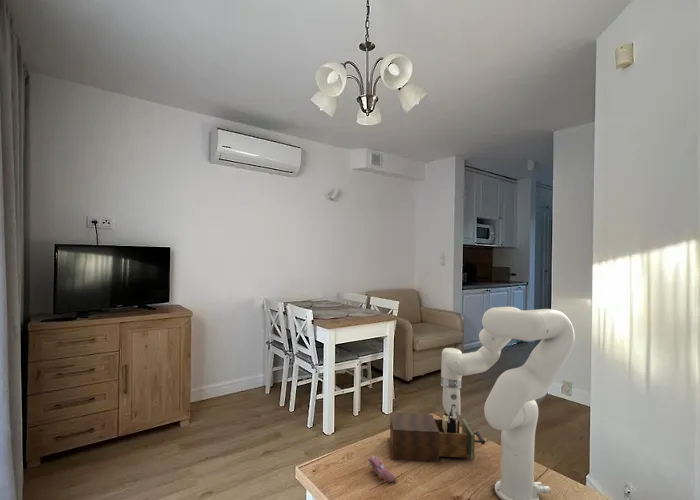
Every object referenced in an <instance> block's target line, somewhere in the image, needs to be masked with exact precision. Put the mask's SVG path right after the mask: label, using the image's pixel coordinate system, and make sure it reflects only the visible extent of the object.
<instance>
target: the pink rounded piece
mask: <svg viewBox="0 0 700 500" xmlns="http://www.w3.org/2000/svg"><path fill="white" fill-rule="evenodd" d="M367 461H368V464H367V465H368V466H369V467H370V468H372V469H373V472H374V473H375V474H376V475H378V478H379V479H380V480H385V481H386V482H389V483H393V482H394V481H395V480H396V477H395V475H394V474H393V473H392V472H391V471H389V469H387V467H386V466H385V464H384V463H383V460H382V459H380V458H379V457H377V456H375V455H373V456H369V458H367Z"/></svg>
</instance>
